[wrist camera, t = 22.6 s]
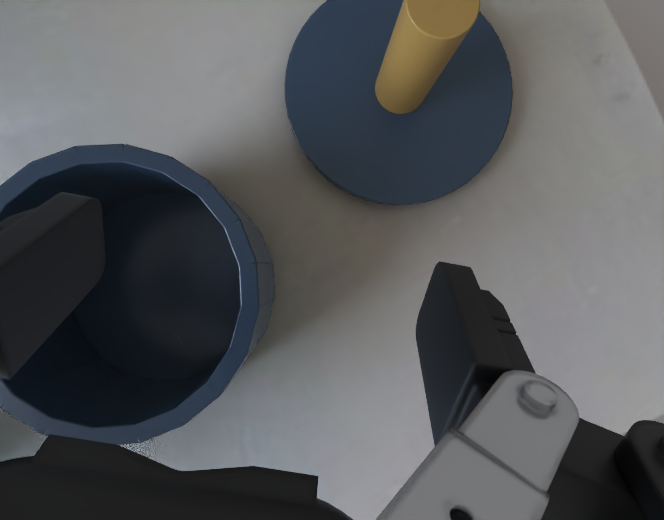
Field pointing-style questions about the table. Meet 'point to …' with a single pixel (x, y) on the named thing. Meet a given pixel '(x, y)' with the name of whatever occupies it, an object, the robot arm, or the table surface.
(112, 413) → the tin
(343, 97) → the lid
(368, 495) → the table surface
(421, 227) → the table surface
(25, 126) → the table surface
